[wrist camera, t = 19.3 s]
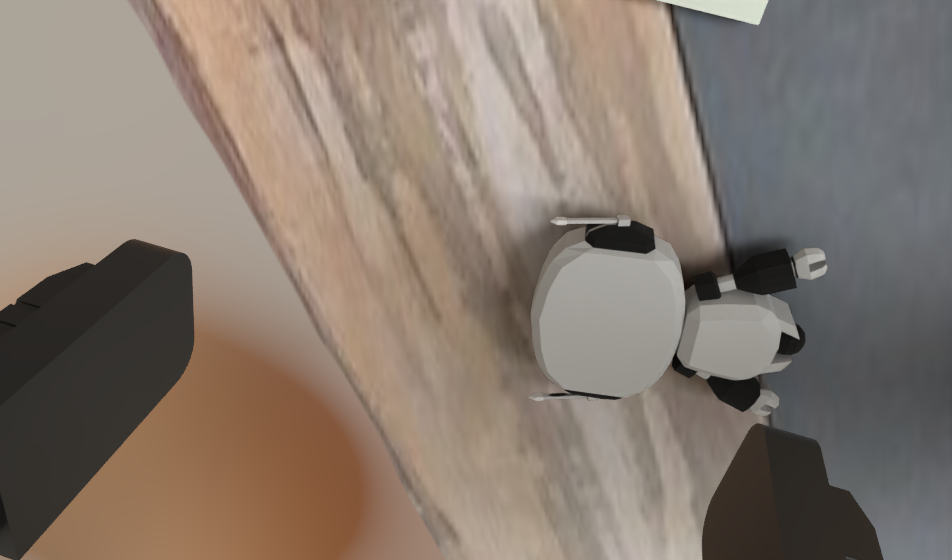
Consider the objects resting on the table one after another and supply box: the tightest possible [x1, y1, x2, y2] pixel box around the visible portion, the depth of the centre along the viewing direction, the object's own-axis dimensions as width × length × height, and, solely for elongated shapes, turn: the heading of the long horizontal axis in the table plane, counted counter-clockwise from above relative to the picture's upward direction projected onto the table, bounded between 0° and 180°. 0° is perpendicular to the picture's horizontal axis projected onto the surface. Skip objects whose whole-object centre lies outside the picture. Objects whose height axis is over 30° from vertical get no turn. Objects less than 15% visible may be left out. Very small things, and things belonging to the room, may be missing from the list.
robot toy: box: [529, 215, 827, 417], centre depth 42 cm, size 12×4×15 cm
